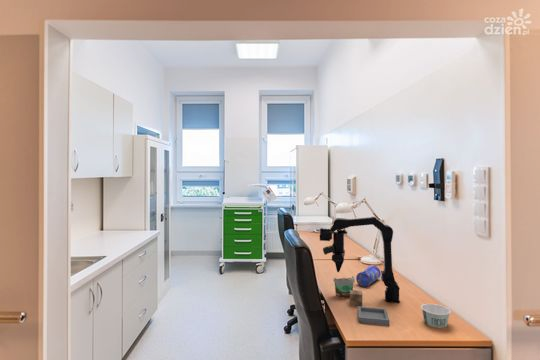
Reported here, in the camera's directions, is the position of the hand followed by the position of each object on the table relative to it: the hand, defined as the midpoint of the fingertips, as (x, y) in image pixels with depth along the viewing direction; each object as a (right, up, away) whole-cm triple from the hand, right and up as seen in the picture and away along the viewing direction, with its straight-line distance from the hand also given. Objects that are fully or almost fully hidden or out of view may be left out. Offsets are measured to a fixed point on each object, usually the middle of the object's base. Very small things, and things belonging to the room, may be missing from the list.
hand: (338, 269), depth 178 cm
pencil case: (+24, -15, +23) cm, 37 cm away
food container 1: (+4, -15, -1) cm, 15 cm away
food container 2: (+37, -15, -33) cm, 51 cm away
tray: (+10, -15, -28) cm, 33 cm away
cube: (+7, -15, -11) cm, 19 cm away
